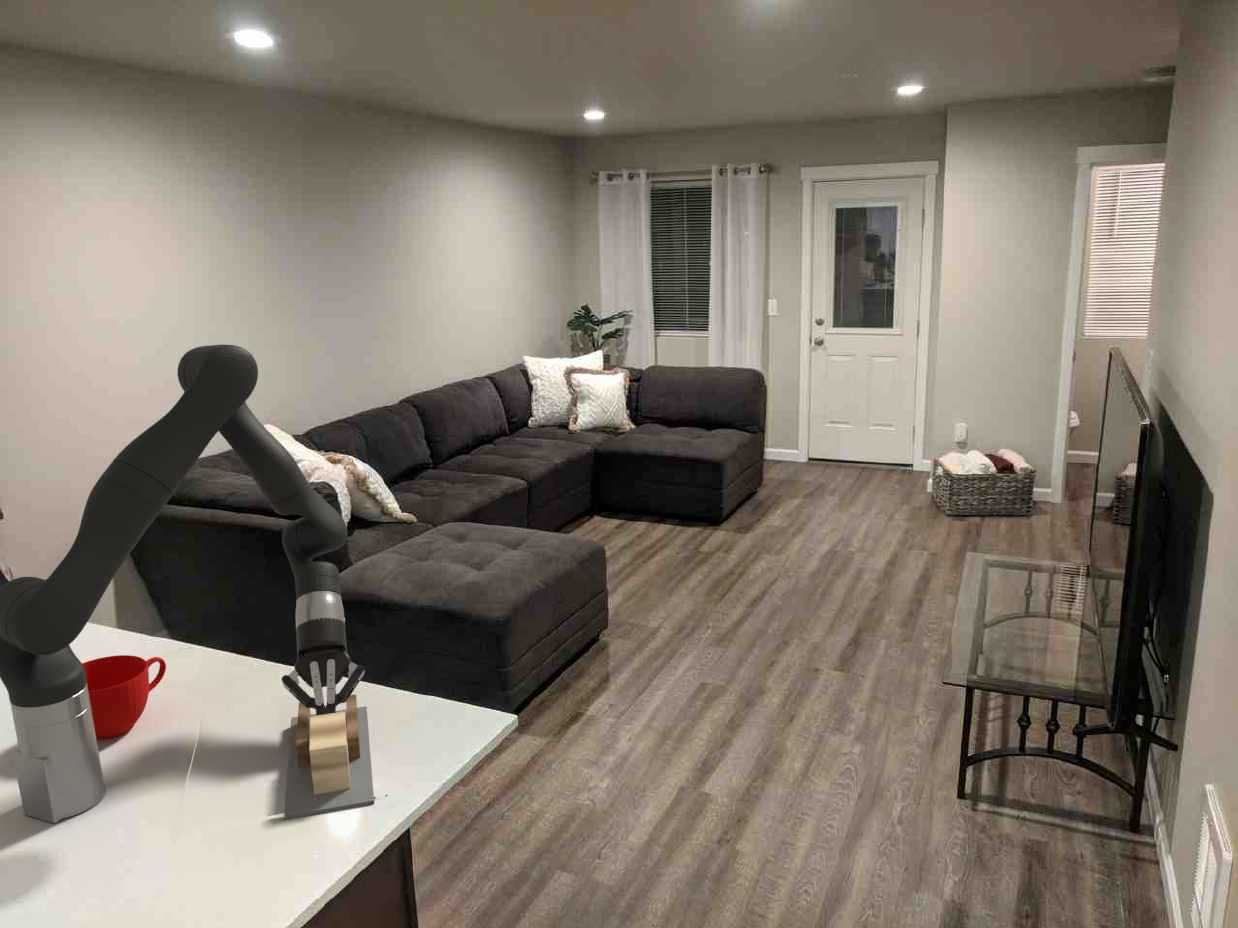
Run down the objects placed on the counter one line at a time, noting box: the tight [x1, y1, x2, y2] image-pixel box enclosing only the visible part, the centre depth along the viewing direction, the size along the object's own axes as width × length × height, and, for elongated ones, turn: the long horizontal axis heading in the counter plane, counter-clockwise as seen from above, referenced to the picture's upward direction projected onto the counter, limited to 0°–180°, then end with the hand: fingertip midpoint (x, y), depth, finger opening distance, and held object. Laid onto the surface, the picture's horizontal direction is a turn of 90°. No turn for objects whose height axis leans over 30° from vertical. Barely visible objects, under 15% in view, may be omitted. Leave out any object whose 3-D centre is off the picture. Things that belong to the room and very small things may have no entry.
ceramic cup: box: [81, 654, 167, 740], centre depth 153 cm, size 13×17×10 cm
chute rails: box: [296, 694, 360, 768], centre depth 148 cm, size 14×9×4 cm, turn 17°
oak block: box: [310, 711, 350, 795], centre depth 138 cm, size 10×5×7 cm, turn 17°
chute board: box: [283, 705, 375, 820], centre depth 143 cm, size 28×12×1 cm, turn 17°
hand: (327, 731), depth 143 cm, fingers closed
